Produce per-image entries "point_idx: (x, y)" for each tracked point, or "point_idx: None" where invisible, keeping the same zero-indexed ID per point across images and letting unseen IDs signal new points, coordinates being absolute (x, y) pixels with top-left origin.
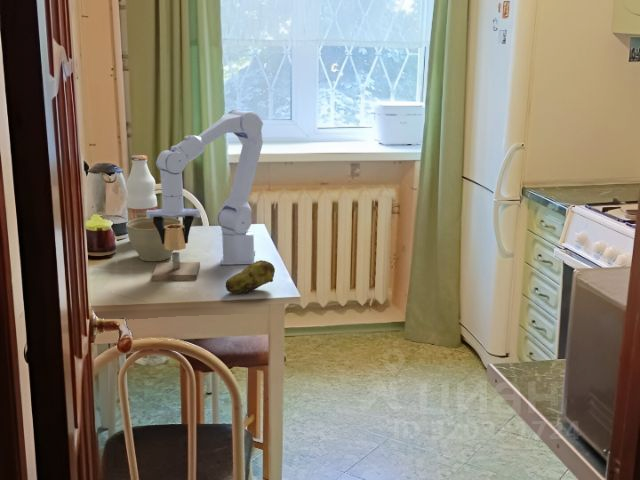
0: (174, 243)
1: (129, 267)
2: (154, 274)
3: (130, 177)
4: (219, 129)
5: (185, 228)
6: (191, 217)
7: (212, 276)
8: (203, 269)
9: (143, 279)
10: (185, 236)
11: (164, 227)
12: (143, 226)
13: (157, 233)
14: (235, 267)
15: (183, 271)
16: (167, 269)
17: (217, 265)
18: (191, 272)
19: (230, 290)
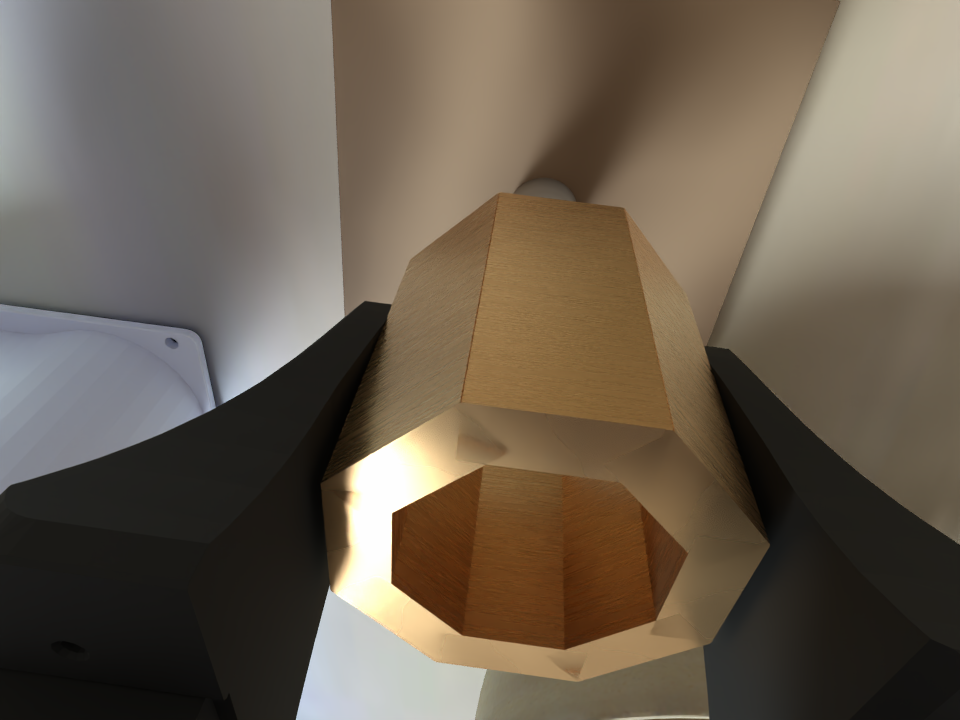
0: (552, 246)
1: (889, 426)
2: (798, 46)
3: None
4: None
5: (281, 433)
6: (13, 696)
7: (204, 35)
8: (322, 263)
9: (890, 75)
10: (348, 347)
11: (736, 570)
12: None
13: (701, 669)
14: (77, 260)
15: (476, 98)
16: (631, 202)
17: (231, 334)
18: (390, 41)
19: None
